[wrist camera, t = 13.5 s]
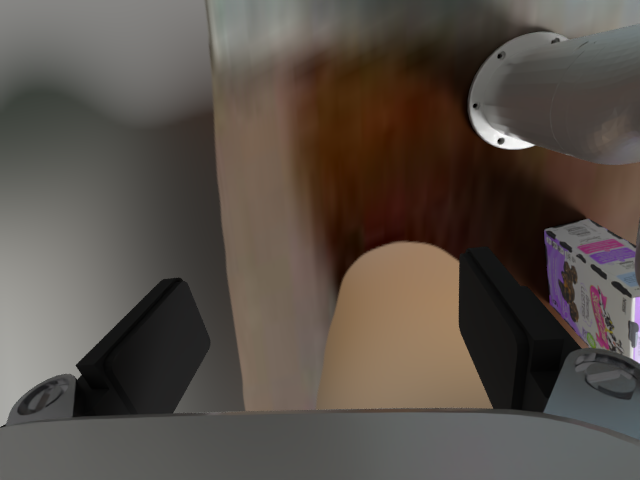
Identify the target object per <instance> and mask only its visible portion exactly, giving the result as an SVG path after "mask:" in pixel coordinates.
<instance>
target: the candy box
mask: <svg viewBox="0 0 640 480" xmlns="http://www.w3.org/2000/svg"><path fill="white" fill-rule="evenodd" d="M544 238H545V249H546V260H547V274H548V285H549V299H550V305H551V306H552V307H553V308H554V309H555V310H556V311H557V312H558V313H559V314H560V315H561V317H562V318H563V319H564V320H565V321H566V322H567V323H568V324H569V325H570V326H571V327H572V329H573V330H574V331H575V332H576V333H577V334H578V335H579V336H580V337H581V339H582V340H583V341H584V342H585V343H586V344H587V345H588V346H589V347H590V348H597V349H605V350H609V351H613V352H617V353H619V354H622V355H624V356H627V357H629V358H631V359H633V360H635V361H636V362H638V363H640V287H639V285H638V283H637V280H636V276H635V268H634V266H635V252H636V246H635V245H634V244H632V243H630V242H628V241H627V240H625V239H623V238H621V237H619V236H617V235H616V234H614V233H613V232H611V231H609V230H608V229H606V228H604V227H602V226H600V225H599V224H597V223H595V222H594V221H592V220H590V219H585V220H581V221H576V222H573V223H569V224H564V225H560V226H555V227H552V228H548V229H545V230H544Z"/></svg>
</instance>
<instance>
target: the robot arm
mask: <svg viewBox="0 0 640 480" xmlns="http://www.w3.org/2000/svg"><path fill="white" fill-rule="evenodd" d="M551 41H553V44H551ZM498 54H500V58H499V59H498V58H497V56H498ZM474 104H476V107H475V108H473V105H474ZM467 110H468V115H469V120H470V122H471V125H472V127H473V129H474V130H475V132H476V133H477V135H478V136H479V137H480V138H482V139H483V140H484V141H485V142H487V143H489V144H491V145H493V146H495V147H498V148H502V149H508V150H519V149H524V148H529V147H532V146H535V145H537V146H540V147H544V148H547V149H550V150H553V151H556V152H560V153H563V154H566V155H569V156H572V157H576V158H579V159H582V160H586V161H590V162H594V163H599V164H607V165H622V164H630V163H635V162H640V24H636V25H632V26H628V27H623V28H619V29H615V30H610V31H606V32H601V33H597V34H593V35H588V36H584V37H579V38H575V39H571V40H569V39H568V38H566V37H564V36H563V35H560V34H556V33H553V32H534V33H528V34H525V35H521V36H518V37H516V38H514V39H512V40H510V41H507V42H506V43H505V44H503V45H502V46H500V47H499V48H497V49H496V50H495V51H494V52H493V53H492V54H491V55H490V56H488V57H487V59H486V60H485V61H484V63H483V64H482V65H481V66H480V68H479V70H478V71H477V73H476V75H475V77H474V79H473V81H472V84H471V87H470V90H469V95H468V109H467ZM499 138H500V141H499V142H497V140H498V139H499ZM459 267H460V268H459V328H460V332H461V335H462V337H463V339H464V342H465V344H466V346H467V349H468V351H469V353H470V356H471V358H472V360H473V363H474V365H475V367H476V370H477V372H478V374H479V377H480V379H481V381H482V383H483V386H484V388H485V390H486V393H487V395H488V397H489V400H490V402H491V404H492V406H493V409H482V408H393V409H391V408H390V409H336V410H335V409H334V410H286V411H244V412H208V413H207V412H204V413H173V412H174V410H175V409H176V407H177V405H178V403H179V401H180V400H181V398H182V396H183V394H184V393H185V391H186V389H187V387H188V385H189V384H190V382H191V380H192V378H193V377H194V375H195V373H196V371H197V369H198V368H199V366H200V364H201V362H202V361H203V359H204V357H205V355H206V353H207V352H208V350H209V347H210V338H209V335H208V333H207V330H206V328H205V325H204V323H203V320H202V318H201V316H200V313H199V311H198V308H197V306H196V303H195V301H194V298H193V296H192V293H191V291H190V288H189V286H188V284H187V283H186V282H185V281H183V280H182V279H181V278H171V279H163V280H162V281H160V282H159V284H157V285H156V286H155V287H154V288H153V289H152V290H151V291H150V292H149V293H148V294H147V295H146V296H145V297H144V298H143V299H142V300H141V301H140V302H139V303H138V304H137V305H136V306H135V307H134V308H133V309H132V310H131V311H130V312H129V313H128V314H127V315H126V316H125V317H124V318H123V319H122V320H121V321H120V322H119V323H118V324H117V325H116V326H115V327H114V328H113V329H112V330H111V331H110V332H109V333H108V334H107V335H106V336H105V337H104V338H103V339H102V340H101V341H100V342H99V343H98V344H97V345H96V346H95V347H94V348H93V349H92V350H91V351H90V352H89V353H88V354H87V355H86V356H85V357H84V358H83V359H82V360H81V361H79V363H78V364H76V367H77V368H78V369H79V371H80V373H81V374H82V375H81V376H80V378H79V379H78V380H77V379H76V378H75V376H73V375H71V374H62V375H58V376H55V377H52V378H50V379H47V380H45V381H44V382H42V383H40V384H38V385H36V386H35V387H34V388H32V389H31V390H29V391H28V392H27V393H26V394H24V395H23V396H22V397H21V398H20V399H19V400H18V401H17V402H16V404H15V405H14V406H13V408H12V409H11V411H10V414H9V417H8V420H7V423H6V424H5V425H3V426H1V427H0V480H640V363H638V362H636V361H635V360H633V359H631V358H629V357H627V356H624V355H622V354H619V353H617V352H613V351H609V350H605V349H597V348H584V349H582V348H581V347H580V346H579V345H578V344H577V343H576V342H575V340H574V339H573V338H572V337H571V336H570V335H569V333H568V332H567V331H566V330H565V329H564V328H563V327H562V325H561V324H560V323H559V322H558V321H557V320H556V319H555V317H554V316H553V315H552V314H551V313H550V312H549V311H548V309H547V308H546V307H545V306H544V305H543V304H542V302H541V301H540V300H539V299H538V298H537V297H536V296H535V294H534V293H533V292H532V291H531V290H530V289H529V288H528V287H526V286H520V285H519V284H518V282H517V281H516V280H515V279H514V278H513V276H512V275H511V274H510V273H509V272H508V271H507V269H506V268H505V267H504V266H503V265H502V263H501V262H500V261H499V260H498V259H497V257H496V256H495V255H494V254H493V253H492V251H491V250H490V249H489V248H488V247H478V248H468V249H467V250H466V253H464V254H460V264H459ZM634 268H635V276H636V280H637V283H638V285H639V287H640V219H639V226H638V233H637V241H636V252H635V266H634Z"/></svg>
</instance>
